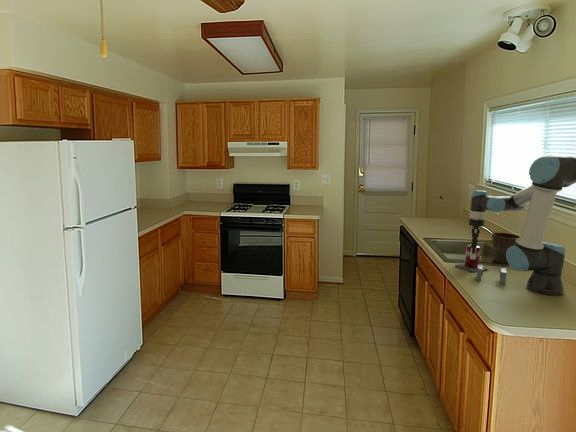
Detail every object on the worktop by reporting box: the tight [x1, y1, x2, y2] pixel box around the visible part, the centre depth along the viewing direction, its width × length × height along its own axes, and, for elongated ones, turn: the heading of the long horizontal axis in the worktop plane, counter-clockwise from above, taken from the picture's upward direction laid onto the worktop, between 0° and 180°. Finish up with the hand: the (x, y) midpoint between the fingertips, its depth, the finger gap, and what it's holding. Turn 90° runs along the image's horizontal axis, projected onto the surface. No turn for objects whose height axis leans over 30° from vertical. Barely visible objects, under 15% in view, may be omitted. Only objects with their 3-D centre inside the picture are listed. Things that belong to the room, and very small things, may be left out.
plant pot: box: [491, 232, 521, 264], centre depth 244 cm, size 15×15×16 cm
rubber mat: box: [454, 263, 489, 274], centre depth 229 cm, size 12×12×1 cm
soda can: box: [464, 243, 482, 268], centre depth 228 cm, size 7×7×12 cm
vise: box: [476, 264, 508, 286], centre depth 208 cm, size 8×13×6 cm, turn 65°
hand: (472, 256), depth 228 cm, fingers open, 13 cm apart
